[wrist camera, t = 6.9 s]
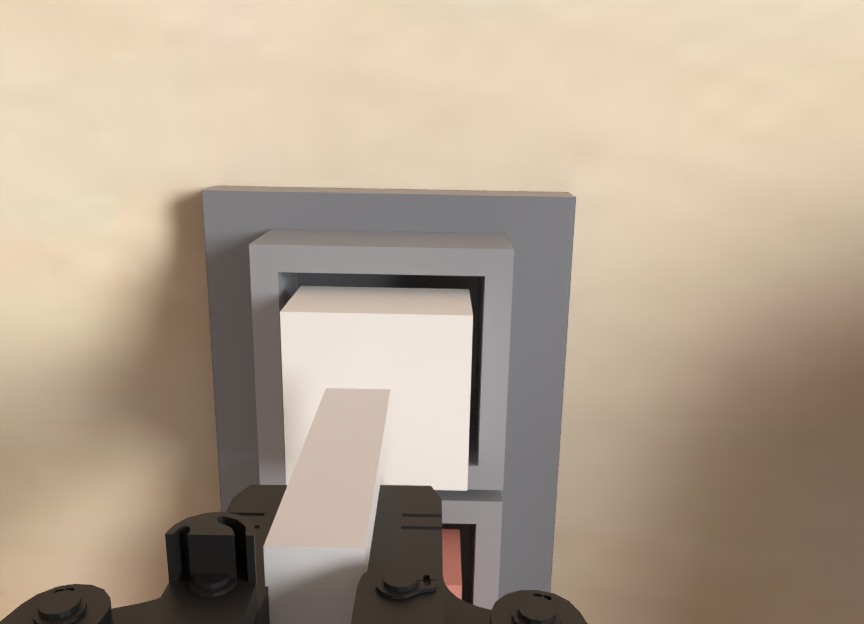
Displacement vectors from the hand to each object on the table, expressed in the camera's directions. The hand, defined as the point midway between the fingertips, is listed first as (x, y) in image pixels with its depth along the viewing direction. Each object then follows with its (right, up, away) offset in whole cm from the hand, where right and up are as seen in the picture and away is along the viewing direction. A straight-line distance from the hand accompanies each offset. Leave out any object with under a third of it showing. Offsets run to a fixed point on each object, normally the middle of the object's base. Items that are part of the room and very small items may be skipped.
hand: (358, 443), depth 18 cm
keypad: (0, -5, +11) cm, 13 cm away
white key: (0, +1, +5) cm, 6 cm away
